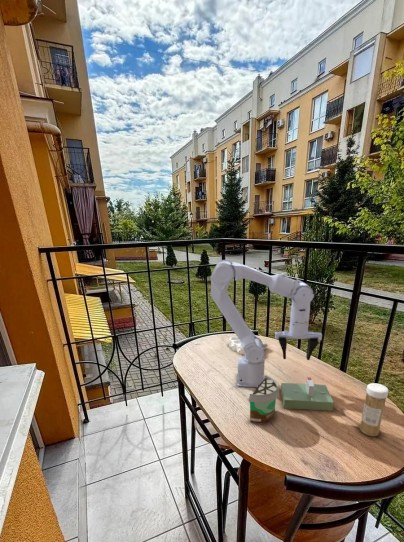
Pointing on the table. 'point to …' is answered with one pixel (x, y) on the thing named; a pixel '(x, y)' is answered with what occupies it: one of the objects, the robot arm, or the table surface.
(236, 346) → the cream bumpy slab
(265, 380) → the food container
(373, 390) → the sprinkles bottle
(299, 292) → the robot arm
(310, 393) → the tap handle
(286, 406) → the plate
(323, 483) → the table surface
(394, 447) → the table surface
